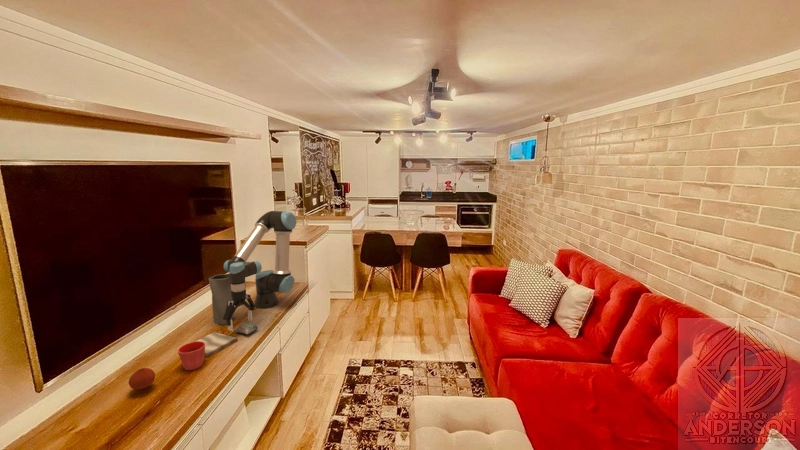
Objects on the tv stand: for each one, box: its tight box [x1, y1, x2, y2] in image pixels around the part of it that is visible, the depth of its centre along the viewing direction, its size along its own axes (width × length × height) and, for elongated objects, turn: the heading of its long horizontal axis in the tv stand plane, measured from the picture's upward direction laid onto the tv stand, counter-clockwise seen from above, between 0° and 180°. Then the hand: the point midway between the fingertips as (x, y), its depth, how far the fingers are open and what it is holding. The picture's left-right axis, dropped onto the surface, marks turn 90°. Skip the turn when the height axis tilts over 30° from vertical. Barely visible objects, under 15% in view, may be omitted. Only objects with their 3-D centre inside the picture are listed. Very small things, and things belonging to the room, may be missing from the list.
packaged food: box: [232, 321, 260, 335], centre depth 185 cm, size 9×12×5 cm
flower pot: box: [177, 340, 205, 371], centre depth 153 cm, size 11×11×10 cm
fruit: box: [128, 367, 156, 390], centre depth 137 cm, size 9×9×8 cm
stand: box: [194, 331, 238, 358], centre depth 171 cm, size 18×18×2 cm
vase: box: [208, 273, 234, 326], centre depth 195 cm, size 12×12×30 cm
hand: (240, 325), depth 185 cm, fingers open, 13 cm apart
